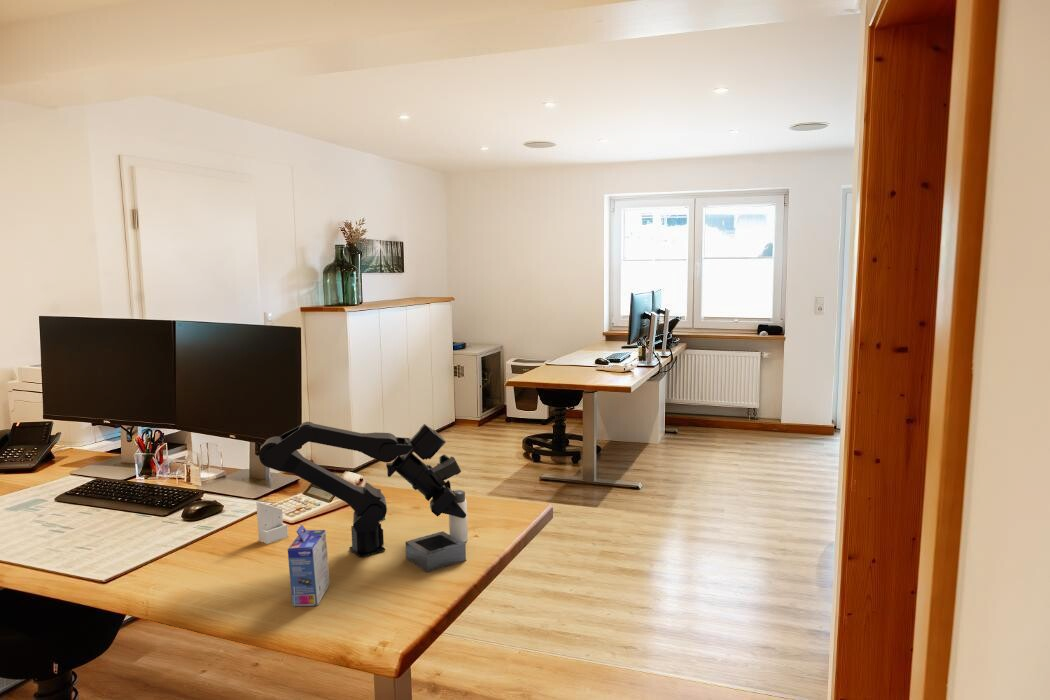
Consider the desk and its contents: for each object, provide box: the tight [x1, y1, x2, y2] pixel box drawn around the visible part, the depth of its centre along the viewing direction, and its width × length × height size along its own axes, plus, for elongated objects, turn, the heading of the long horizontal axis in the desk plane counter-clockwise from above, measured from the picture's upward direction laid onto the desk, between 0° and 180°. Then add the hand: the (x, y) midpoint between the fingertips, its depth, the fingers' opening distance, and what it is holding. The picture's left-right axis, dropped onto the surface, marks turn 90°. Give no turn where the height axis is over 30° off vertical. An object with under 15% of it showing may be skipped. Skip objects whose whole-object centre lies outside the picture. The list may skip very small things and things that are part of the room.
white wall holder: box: [255, 501, 289, 545], centre depth 171 cm, size 4×10×9 cm, turn 143°
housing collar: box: [405, 530, 467, 573], centre depth 158 cm, size 10×10×4 cm
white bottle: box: [448, 489, 468, 543], centre depth 168 cm, size 4×4×12 cm
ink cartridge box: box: [287, 524, 330, 607], centre depth 141 cm, size 10×6×14 cm, turn 2°
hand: (463, 513), depth 169 cm, fingers closed on white bottle, 4 cm apart
